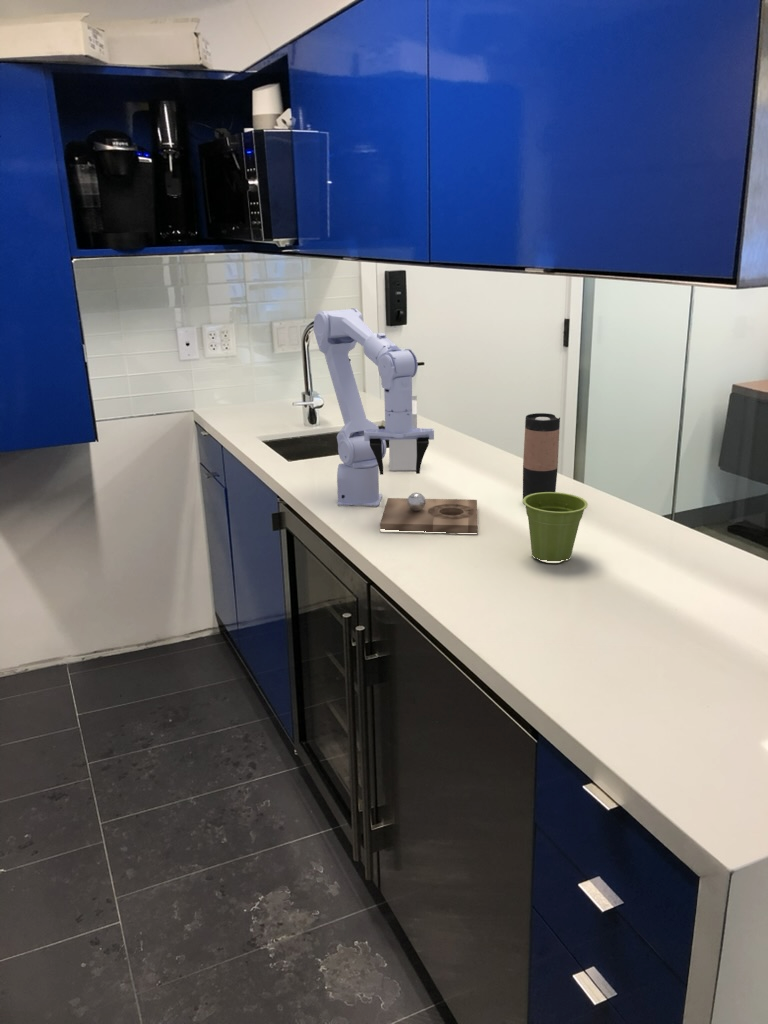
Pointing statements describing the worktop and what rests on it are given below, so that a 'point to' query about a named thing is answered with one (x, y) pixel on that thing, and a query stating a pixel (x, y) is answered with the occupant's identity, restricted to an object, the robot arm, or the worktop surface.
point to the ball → (416, 501)
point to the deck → (431, 516)
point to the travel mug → (540, 453)
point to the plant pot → (553, 523)
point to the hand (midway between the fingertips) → (399, 473)
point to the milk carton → (404, 448)
